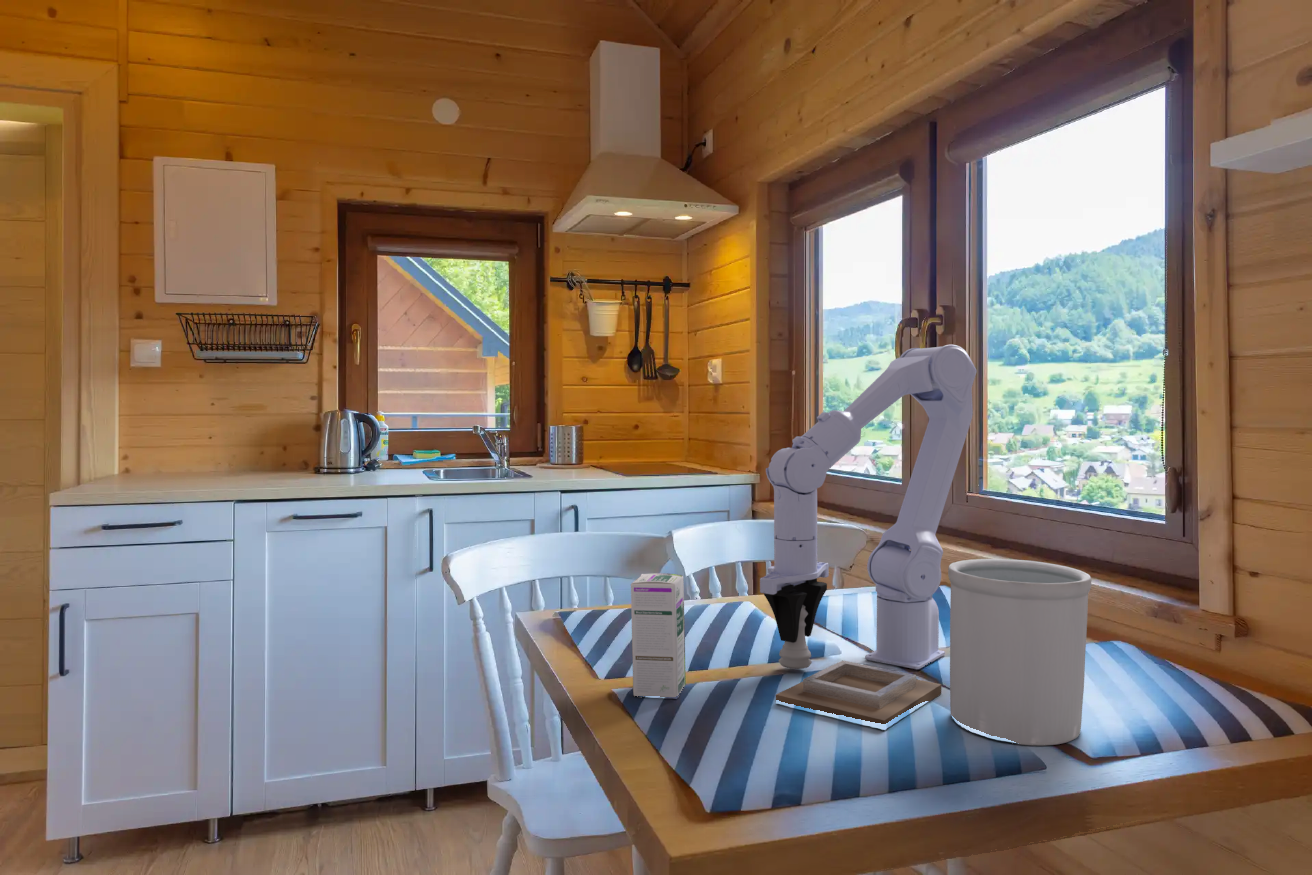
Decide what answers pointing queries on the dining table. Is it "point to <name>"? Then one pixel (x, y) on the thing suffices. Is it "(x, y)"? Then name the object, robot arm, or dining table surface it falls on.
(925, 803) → the dining table surface
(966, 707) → the utensil holder
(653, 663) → the syrup box
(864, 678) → the collar board
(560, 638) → the dining table surface
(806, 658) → the rook chess piece
